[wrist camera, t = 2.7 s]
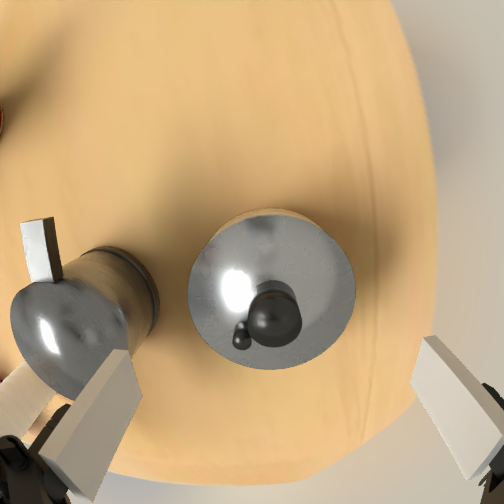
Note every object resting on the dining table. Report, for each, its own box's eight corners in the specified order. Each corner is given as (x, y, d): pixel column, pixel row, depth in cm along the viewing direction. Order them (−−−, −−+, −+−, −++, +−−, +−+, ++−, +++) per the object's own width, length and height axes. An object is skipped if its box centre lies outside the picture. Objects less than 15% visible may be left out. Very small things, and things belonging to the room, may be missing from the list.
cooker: (59, 209, 23) (-15, 230, 13) (146, 198, 23) (78, 215, 13) (96, 364, 27) (54, 421, 18) (174, 373, 27) (146, 445, 17)
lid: (266, 176, 20) (270, 176, 13) (366, 275, 22) (404, 313, 15) (171, 282, 22) (139, 324, 16) (271, 362, 24) (275, 419, 17)
